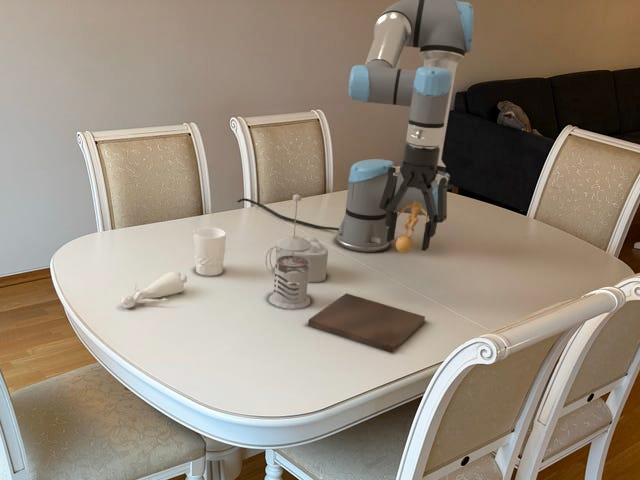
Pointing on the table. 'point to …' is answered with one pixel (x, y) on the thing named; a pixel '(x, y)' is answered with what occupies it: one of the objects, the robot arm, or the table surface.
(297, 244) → the french press
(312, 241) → the lumpy-topped squat cylinder
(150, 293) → the woman figurine
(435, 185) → the robot arm
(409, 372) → the table surface
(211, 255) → the white cup
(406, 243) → the figurine
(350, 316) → the walnut board
